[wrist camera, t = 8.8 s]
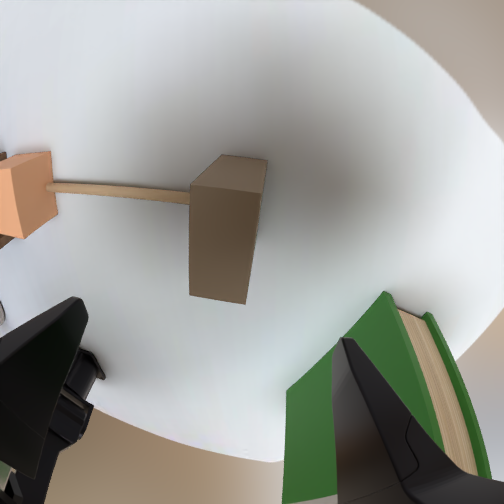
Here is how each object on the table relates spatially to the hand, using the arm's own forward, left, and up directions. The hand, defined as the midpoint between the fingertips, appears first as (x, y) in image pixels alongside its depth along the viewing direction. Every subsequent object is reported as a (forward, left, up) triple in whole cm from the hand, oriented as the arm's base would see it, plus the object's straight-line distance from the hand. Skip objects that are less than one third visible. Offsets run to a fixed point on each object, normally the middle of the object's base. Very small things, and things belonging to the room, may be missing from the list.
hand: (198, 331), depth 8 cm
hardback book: (-16, -13, -12) cm, 24 cm away
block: (+1, +11, -12) cm, 16 cm away
